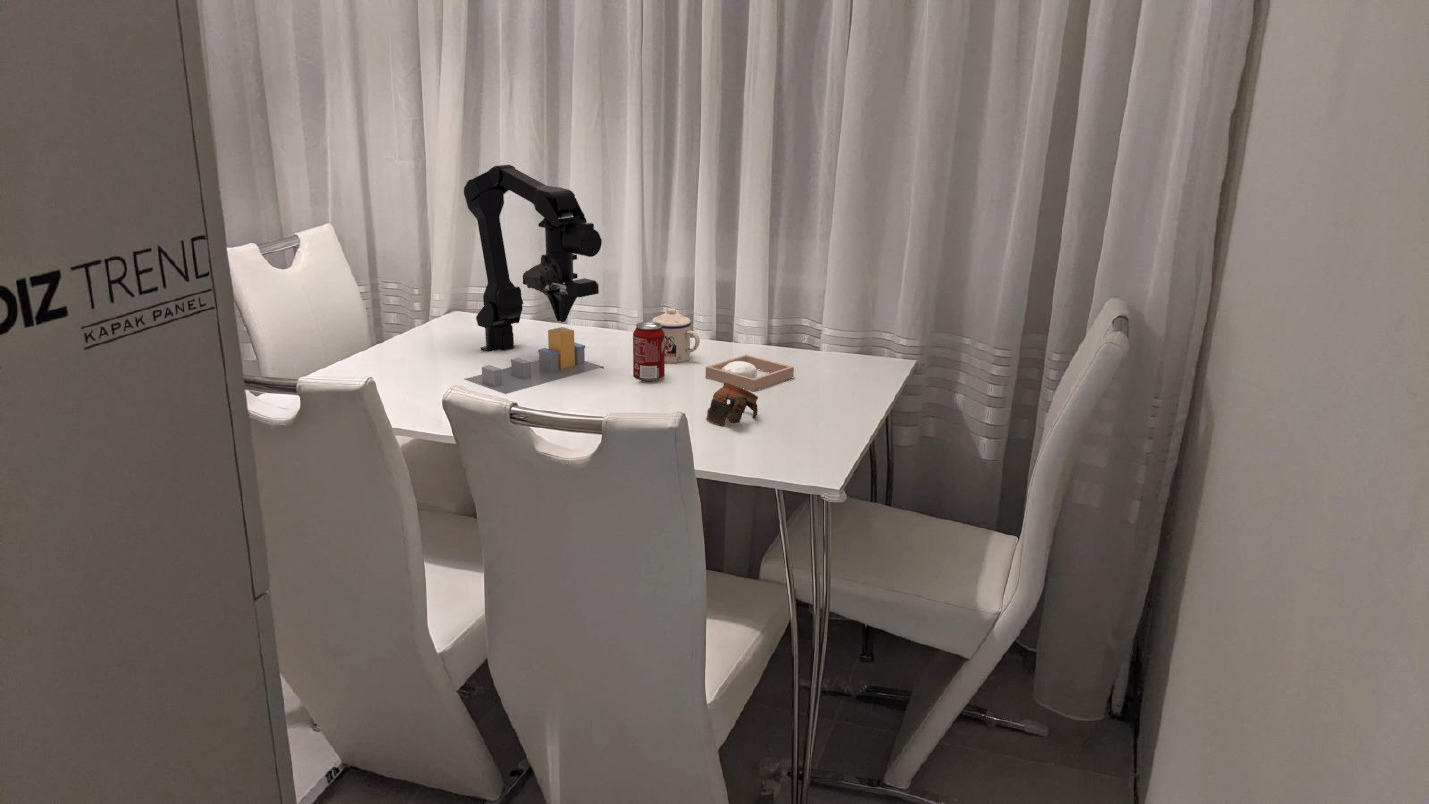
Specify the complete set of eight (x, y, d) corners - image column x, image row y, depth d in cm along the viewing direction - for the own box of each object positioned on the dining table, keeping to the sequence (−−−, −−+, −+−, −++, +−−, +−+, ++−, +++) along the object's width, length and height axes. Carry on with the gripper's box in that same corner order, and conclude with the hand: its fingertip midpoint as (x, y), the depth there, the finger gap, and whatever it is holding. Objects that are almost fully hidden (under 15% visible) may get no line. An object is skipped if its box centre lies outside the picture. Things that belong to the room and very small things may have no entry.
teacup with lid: (643, 359, 244) (643, 310, 240) (665, 350, 251) (666, 302, 248) (687, 368, 238) (688, 317, 234) (709, 359, 246) (710, 309, 242)
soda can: (660, 384, 227) (660, 330, 223) (629, 382, 228) (629, 327, 224) (667, 375, 233) (668, 322, 229) (637, 373, 234) (637, 320, 230)
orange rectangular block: (549, 365, 235) (547, 330, 232) (562, 361, 238) (561, 326, 235) (561, 369, 232) (560, 333, 230) (574, 365, 235) (574, 330, 233)
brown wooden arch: (697, 416, 210) (714, 378, 210) (739, 435, 212) (756, 397, 212) (713, 421, 198) (730, 381, 198) (757, 441, 200) (774, 401, 201)
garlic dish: (705, 377, 232) (705, 366, 231) (745, 365, 242) (745, 354, 241) (753, 391, 223) (754, 380, 223) (793, 377, 233) (793, 366, 232)
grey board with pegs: (463, 383, 224) (462, 360, 223) (561, 358, 244) (561, 336, 242) (505, 398, 216) (504, 374, 214) (603, 370, 235) (603, 348, 233)
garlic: (734, 386, 227) (734, 369, 226) (713, 378, 232) (714, 362, 231) (761, 380, 232) (762, 363, 231) (741, 372, 237) (741, 356, 236)
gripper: (501, 248, 227) (504, 320, 232) (559, 261, 215) (561, 336, 220) (542, 242, 235) (544, 311, 240) (599, 254, 223) (600, 326, 228)
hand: (561, 321), depth 232 cm, fingers closed
